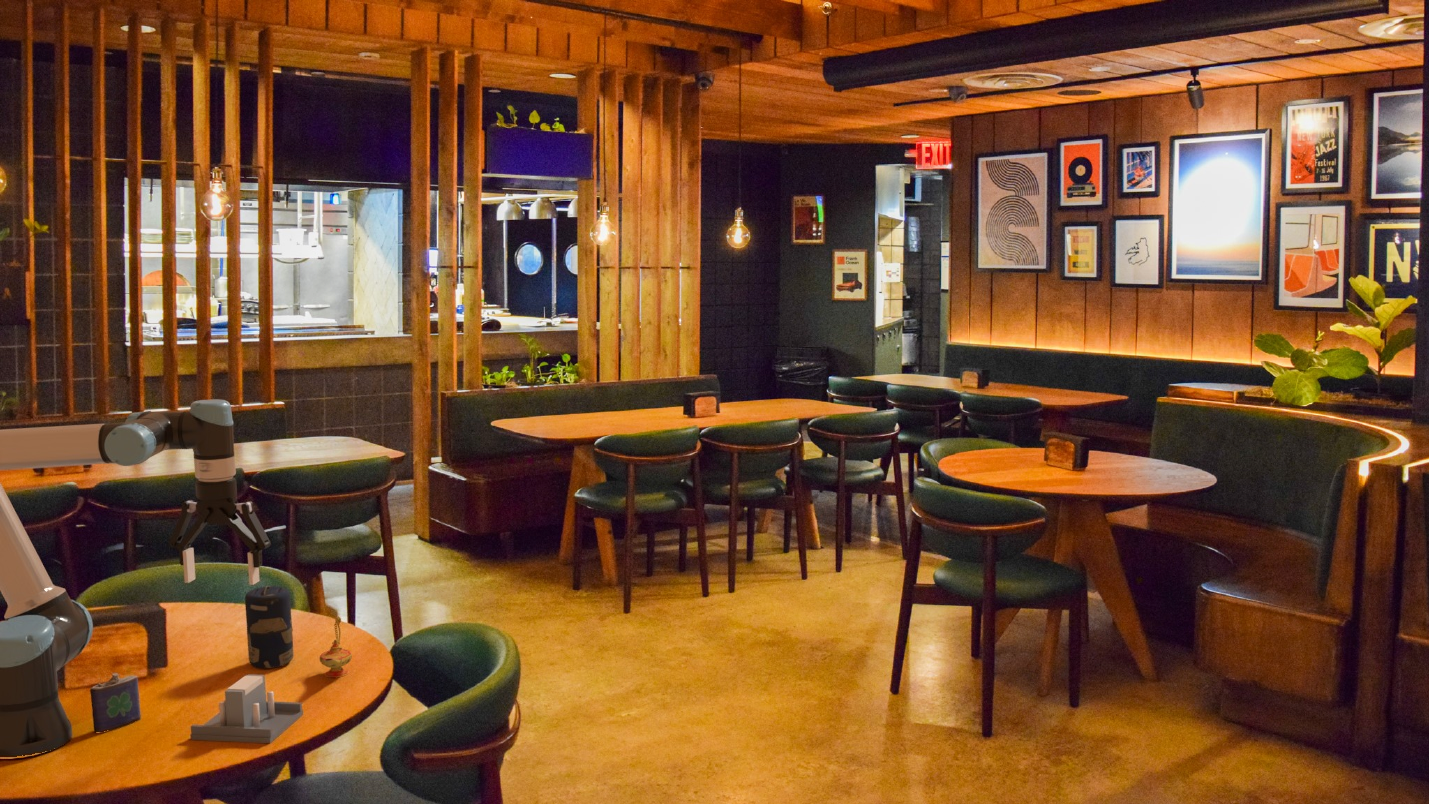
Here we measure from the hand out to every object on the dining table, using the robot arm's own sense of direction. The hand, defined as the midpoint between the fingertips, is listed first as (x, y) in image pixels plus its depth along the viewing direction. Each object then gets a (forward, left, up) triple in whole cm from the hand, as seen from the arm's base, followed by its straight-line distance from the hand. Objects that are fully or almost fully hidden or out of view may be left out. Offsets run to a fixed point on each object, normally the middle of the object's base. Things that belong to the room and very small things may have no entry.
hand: (222, 582), depth 245 cm
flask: (-18, -10, -27) cm, 34 cm away
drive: (+8, -8, -26) cm, 28 cm away
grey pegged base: (+8, -8, -27) cm, 29 cm away
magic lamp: (+14, +20, -27) cm, 36 cm away
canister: (-4, +26, -27) cm, 38 cm away
